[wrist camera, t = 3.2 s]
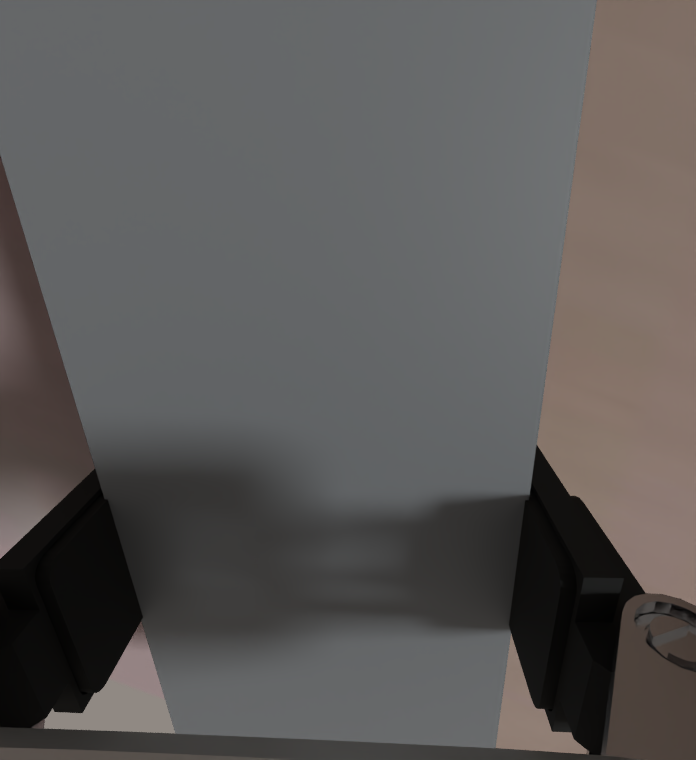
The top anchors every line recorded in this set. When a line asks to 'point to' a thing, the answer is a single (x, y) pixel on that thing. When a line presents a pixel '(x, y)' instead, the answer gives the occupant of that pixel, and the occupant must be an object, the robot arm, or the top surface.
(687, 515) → the top surface
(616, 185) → the top surface
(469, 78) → the lid
